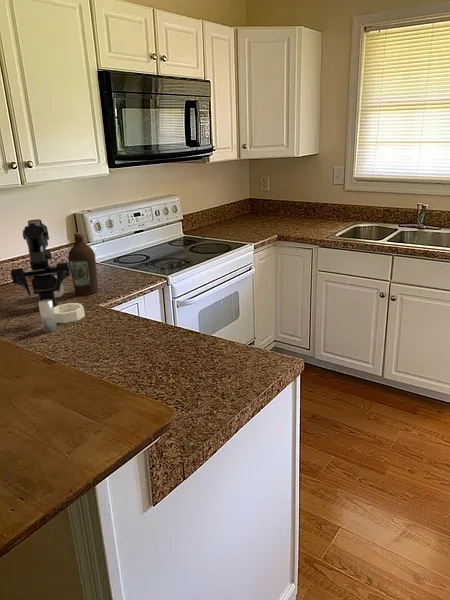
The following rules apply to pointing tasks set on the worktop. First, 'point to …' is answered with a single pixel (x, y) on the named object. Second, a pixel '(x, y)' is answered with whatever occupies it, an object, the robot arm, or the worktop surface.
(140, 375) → the worktop surface
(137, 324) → the worktop surface
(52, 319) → the canister
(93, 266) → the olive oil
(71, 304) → the bowl
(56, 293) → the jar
